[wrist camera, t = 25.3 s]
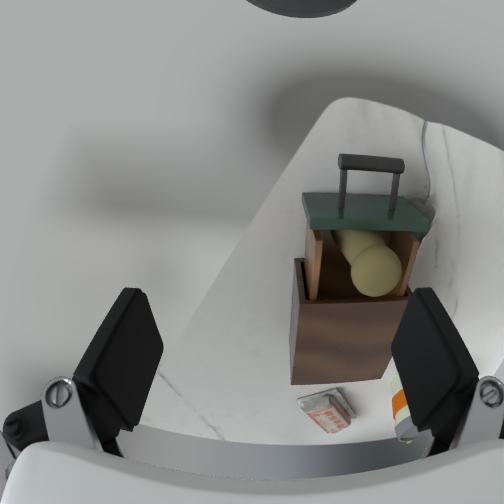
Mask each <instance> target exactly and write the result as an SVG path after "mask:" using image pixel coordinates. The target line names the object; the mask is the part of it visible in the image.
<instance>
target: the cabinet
mask: <svg viewBox="0 0 504 504" xmlns="http://www.w3.org/2000/svg"><path fill="white" fill-rule="evenodd" d="M304 263H305V258H295V259H294V275H293V292H292V308H291V323H290V336H289V347H290V375H291V385H310V384H330V383H344V382H355V381H365V380H374V379H381V378H382V376H383V374H384V372H385V370H386V368H387V366H388V364H389V362H390V360H391V358H392V353H391V343H392V341H393V338H394V336H395V334H396V331H397V329H398V326H399V324H400V321H401V319H402V316H403V313H404V311H405V308H406V305H407V303H408V300H409V297H410V295H411V293H412V292H411V290H410V288H409V286H408V285H407V287H406V290H405V294H404V296H402V297H384V298H361V299H327V300H306V297H305V290H304V283H303V277H304Z"/></svg>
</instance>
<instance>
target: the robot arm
mask: <svg viewBox="0 0 504 504" xmlns="http://www.w3.org/2000/svg"><path fill="white" fill-rule="evenodd" d="M162 353H163V342H162V339H161V336H160V334H159V331H158V328H157V326H156V323H155V320H154V317H153V314H152V311H151V308H150V305H149V302H148V299H147V296H146V294H145V293H142V291H141V289H139V288H124V289H123V290H122V292H121V293H120V295H119V296H118V298H117V300H116V301H115V303H114V304H113V306H112V308H111V309H110V311H109V312H108V314H107V316H106V317H105V319H104V321H103V322H102V324H101V326H100V327H99V329H98V331H97V332H96V334H95V336H94V338H93V339H92V341H91V343H90V345H89V346H88V348H87V350H86V352H85V353H84V355H83V357H82V359H81V361H80V363H79V365H78V366H77V368H76V370H75V372H74V374H73V375H74V376H73V378H72V380H71V379H70V378H68V377H65V376H59V377H55V378H53V379H52V380H50V381H49V382H48V383H47V384H46V385H45V387H44V388H43V391H42V395H41V400H40V401H38V402H36V403H33V404H31V405H28V406H26V407H24V408H22V409H20V410H17V411H15V412H13V413H11V414H10V415H9V416H8V417H7V418H6V420H5V422H4V425H3V432H1V431H0V504H504V385H503V383H502V382H501V381H500V380H499V379H497V378H496V377H493V376H485V377H483V378H481V379H480V380H479V378H478V375H479V372H478V369H477V367H476V365H475V363H474V361H473V359H472V357H471V355H470V353H469V351H468V349H467V347H466V345H465V344H464V342H463V340H462V338H461V336H460V334H459V332H458V331H457V329H456V327H455V325H454V324H453V322H452V320H451V318H450V317H449V315H448V313H447V312H446V310H445V308H444V307H443V305H442V303H441V302H440V300H439V299H438V297H437V295H436V294H435V292H434V291H433V289H432V288H430V287H428V288H417V289H415V291H414V292H413V293H411V295H410V297H409V300H408V303H407V305H406V308H405V311H404V313H403V316H402V319H401V321H400V324H399V326H398V329H397V331H396V334H395V336H394V338H393V341H392V343H391V353H392V356H393V359H394V362H395V365H396V368H397V371H398V374H399V377H400V381H401V384H402V387H403V391H404V394H405V398H406V401H407V405H408V408H409V412H410V416H411V419H412V423H413V425H414V426H417V430H418V432H422V431H425V430H429V429H431V433H432V436H431V438H430V440H429V443H428V445H427V447H426V449H425V451H424V453H423V455H422V457H421V459H420V460H416V461H412V462H409V463H405V464H401V465H397V466H393V467H389V468H384V469H379V470H374V471H368V472H362V473H356V474H350V475H341V476H333V477H323V478H310V479H287V480H286V479H285V480H266V479H264V480H262V479H242V478H229V477H218V476H209V475H202V474H195V473H188V472H182V471H177V470H171V469H167V468H162V467H157V466H153V465H149V464H145V463H141V462H137V461H133V460H129V458H128V456H127V454H126V452H125V450H124V448H123V446H122V443H121V441H120V439H119V437H118V434H119V431H120V429H122V430H126V431H130V432H132V431H133V428H134V426H137V425H138V424H139V421H140V418H141V415H142V412H143V409H144V406H145V403H146V400H147V397H148V394H149V391H150V388H151V385H152V382H153V379H154V376H155V373H156V370H157V367H158V364H159V362H160V359H161V356H162Z"/></svg>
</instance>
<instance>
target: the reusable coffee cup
mask: <svg viewBox="0 0 504 504" xmlns="http://www.w3.org/2000/svg"><path fill="white" fill-rule="evenodd" d="M391 383H392V391H393V399H392V407H393V418H394V420H396V427H395V431H396V434H397V437H398V440H399V441H400V442H409V441H413V440H417V439H420V438H422V437H425V436H427V435H429V434H432V433H431V429H429V430H425V431H422V432H418V430H417V426H414V425H413V423H412V419H411V416H410V412H409V408H408V405H407V401H406V398H405V394H404V391H403V387H402V384H401V381H400V377H399V374H398V373H397V374H396V375H395V376H394V377H393V378H392V381H391Z"/></svg>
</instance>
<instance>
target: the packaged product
mask: <svg viewBox="0 0 504 504" xmlns="http://www.w3.org/2000/svg"><path fill="white" fill-rule="evenodd" d="M297 405H299V407H300V408H301V409H302V410H303V411H304V412H305V413H306V414H307V415H308V416H309V417H311V419H313V420H314V421H315V422H316V423H317V424H318V425H319V426H320V427H321V428H323V429H324V430H325V431H326V432H327V433H336V432H338V431H340V430H342V429H344V428H346V427H348V426H349V425H350V424H351V420H350V419H352V418H354V417H355V414H354V413H353V411H352V410H351V409H350V407H349V406H348V404H347V402H346V400H345V398H343V397H342V395H341V394H340V392H339V391H338V390H337V389H336V388H335V389H332V390H328V391H325V392H322V393H318V394H314V395H311V396H307V397H303V398H300V399H297ZM355 418H356V417H355Z"/></svg>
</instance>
